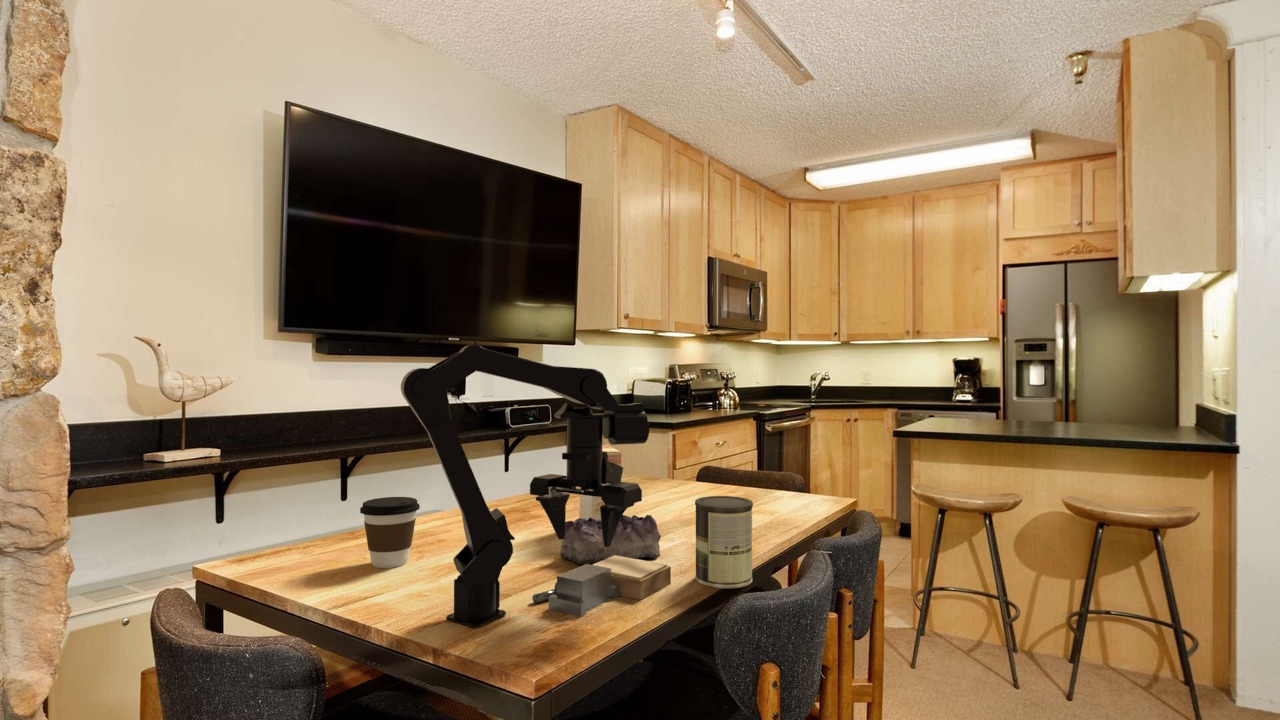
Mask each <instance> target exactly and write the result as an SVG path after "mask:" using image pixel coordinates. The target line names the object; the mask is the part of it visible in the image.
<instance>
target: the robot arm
mask: <svg viewBox="0 0 1280 720" xmlns="http://www.w3.org/2000/svg"><path fill="white" fill-rule="evenodd" d="M476 372H477V373H482V374H487V375H489V376H490V375H491V376H495V377H499V378H502V379H507V380H511V381H515V382H519V383H523V384H528V385H532V386H536V387H538V388H542V389H545V390H548V391H549V392H551V393H554V394H555V395H556V396H557V395H558V396H559V397H562V398H564V399H566V400H569V401H571V402H573V403H575V404H582V405H587V406H588V407H573V406H572V405H571V404H570V403H566V402H565V403H563V405H562V407H560V409H558V410H557V411H556V412H555V413H554V415H553V416H554V418H557V419H561V420H566V421H567V422H566V426H567V432H566V433H567V434H566V435H567V436H566V440H567V441H566V443H567V444H566V452H562V453H561V459H562V460H565V461H566V475H563V474H554V473H550V474H549V473H548V474H543V475H539V476H534V477H533V478H532V479H531V481H530V483H529V495H530V496H536V497H535V501H536V502H539V504H540V506H541V507H542V509H543V510H544V512H545V513H546V516H547V518H548V519H549V522H550V524H551V526H552V528H553V530H554V532H555V534H556V536H557V539H558V540H560V541H561V540H563V539H564V536H565V522H566V513H567V512H566V510H567V507H566V505H567V503H568V500H569V498H570V496H571V494H574V495H579V496H580V495H588V496H596V497H601V499H602V501H603V502H604V503H605V505H603V506H600V512H601V522H602V533H603V541H604V545H605V547H610V546H611V543H612V540H613V537H614V535H615V532H616V529H617V526H618V523H619V521H620V519H621V517H622V515H624V513H625V512H626V510H627V509H628V508H631V507H634V505H635V504H637V503H639V502H643V490H642V488H641V487H640V485H639V483H637V482H628V481H622V476H623V472H624V467H623V466H622V465H621V466H619V465H617V464H615V463H612V462H609V461H608V454H607V452H606V451H602V445H603V438H604V439H605V440H608V443H609V444H610V445H612V446H618V445H640V444H641V445H644V444H645V443H647V441H648V439H649V437H650V436H649V435H650V423H649V421H648V416H647V413H646V412H645V410H644V408H645V404H643V403H642V402H641V403H640V402H633V403H632V402H631V403H627V404H619V403H618V402H617V400H616V398H615V397H614V396H613V395H612V394H611V392H610V391H609V389H608V382H607V379H606V377H605V375H604V374H603V372H601V371H600V370H597V369H596V368H588V367H587V368H586V367H575V366H574V367H571V366H559V365H557V366H555V365H550V364H547V363H542V362H540V361H534V360H531V359H528V358H523V357H520V356H516V355H513V354H508V353H504V352H500V351H498V350H497V351H496V350H493V349H488V348H485V347H483V346H482V345H480V344H469V345H465V346H464V347H462V348H461V349H460V350H459V351H457V352H455V353H454V354H452V355H450V356H448V357H446V358H445V359H443V360H441V361H439V362H437V363H435V364H433V365H432V366H430V367H427V368H426V367H425V368H424V367H418V368H413V369H412V370H410V371H408V372H407V373H406V374H405V375H404V376H403V378H402V380H401V382H400V391H401V395H402V396H403V399H404V400H405V401H406V403H407V404H408V406H409V407H410V409H411V411H412V412H413V413H414V415H415V416H416V418H417V420H418V421H419V422H420V423H421V425H422V426H423V427H424V429H425V431H426V432H427V435H428V437H429V439H430V442H431V444H432V446H433V449H434V452H435V454H436V456H437V458H438V460H439V463H440V465H441V467H442V470H443V473H444V474H445V478H446V479H447V481H448V484H449V486H450V489H451V491H452V494H453V496H454V498H455V500H456V502H457V505H458V507H459V509H460V510H459V511H460V512H461V517H462V524H463V531H464V535H465V540H466V544H465V545H464V546H463V548H461V549H460V551H458V553H457V554H456V555H455V556H454V557H453V559H452V560H453V563H454V565H455V566H454V567H455V568H456V571H457V572H458V573H459V575H458V576H457V577H456V578H455V579H454V580H453V612H452V613H450V614H447V615H446V617H445V618H446V620H447V621H451V622H454V623H458V624H463V625H465V626H469V627H473V628H479V627H482V626H483V625H486V624H488V623H490V622H492V621H494V620H495V621H496V620H497V619H499V618H502V617H504V616H506V614H507V612H506V610H504V609H500V604H501V603H500V602H501V601H500V599H501V598H500V592H501V590H500V588H501V587H500V586H501V584H500V581H499V579H500V578H499V577H500V575H501V573H502V570H503V567H505V566H507V564H508V563H509V561H510V560H511V558H512V556H513V553H514V547H513V542H512V541H514V540H516V538H515V536H513V534H512V533H511V532H510V530H509V526H508V523H507V522H508V521H507V519H506V518H507V517H506V515H505V514H504V513H503V512H502V511H501V510H500V509H499V508H497V507H495V508H493V510H491V509H490V508H489V507H488V505H487V503H486V501H485V498H484V496H483V494H482V491H481V488H480V487H479V484H478V481H477V479H476V476H475V474H474V472H473V469H472V467H471V465H470V461H469V460H468V458H467V455H466V452H465V451H464V447H463V445H462V443H461V441H460V438H459V436H458V434H457V431H456V428H455V426H454V424H453V420H452V415H451V414H452V413H451V408H450V401H449V396H448V392H447V390H449V389H451V388H453V387H454V386H456V385H457V384H459V383H460V382H461V381H463V380H464V379H466V378H468V377H469V376H471V375H472V374H474V373H476ZM591 409H593V410H594V409H595V410H602V411H604V413H593V411H592V410H591ZM602 484H608V485H605V486H604V485H602ZM580 487H581V489H580ZM590 490H593V491H590Z"/></svg>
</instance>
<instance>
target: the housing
mask: <svg viewBox="0 0 1280 720" xmlns="http://www.w3.org/2000/svg"><path fill="white" fill-rule="evenodd" d="M556 582H557V595H554V594H553V595H551V596H549V600H548V606H547V607H548V610H551V611H555V612H559V613H563V614H566V615H567V614H568V615H571V616H576V617H580V618H581V617H584V616H586V615H587V612H589V611H590V610H592V609H594V608H596V607H598V606H600V605H602V604H604V603H606V602H608V601H610V600H617V599H619V597H620V595H619V586H618V585H613V584H611V568H606V567H600V566H595V565H593V564H591V563H589V564H585V563H584V564H582V565H581V566H578V567H575V568H574V569H571V570H569V571H565V572H563V573H562V574H559V575H556Z"/></svg>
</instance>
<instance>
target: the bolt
mask: <svg viewBox="0 0 1280 720" xmlns="http://www.w3.org/2000/svg"><path fill="white" fill-rule="evenodd" d="M553 594H554V595H557V581H556V582H555V583H554V588H552V589H549V590H546V591H543V592H539V593H536V594H535V593H534V594H533V595H532V598H531V599H532V602H533V603H534V604H538V603H542V602H545V601H546V602H547V601H549V596H551V595H553Z"/></svg>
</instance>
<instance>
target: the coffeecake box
mask: <svg viewBox="0 0 1280 720" xmlns="http://www.w3.org/2000/svg"><path fill="white" fill-rule="evenodd" d="M602 451H606V452H607V454H608V461H609V462H612V463H615V464H617V465H619V466H621V467H622V451H621V450H618V449H616V448H614V447H612V446H610V445H608V444H602ZM602 485H604V486H605V485H608V484H602ZM579 489H581V487H579ZM590 491H593V490H590ZM603 505H605V503H604V502H603V501H602V499H601V497H596V496H588V495H580V494H579V517H578V518H582V519H586V520H588V519H589V518H592V519H595V520H596V521H601V512H600V506H603Z"/></svg>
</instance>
